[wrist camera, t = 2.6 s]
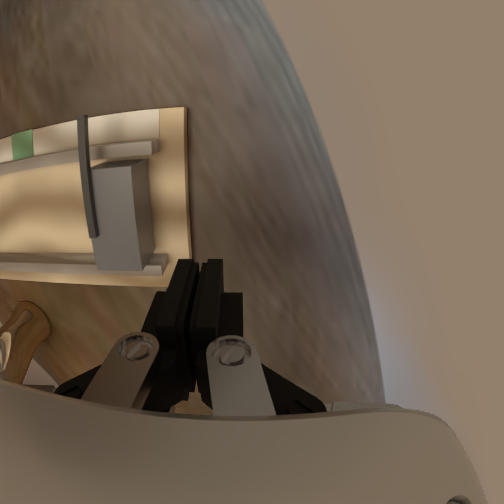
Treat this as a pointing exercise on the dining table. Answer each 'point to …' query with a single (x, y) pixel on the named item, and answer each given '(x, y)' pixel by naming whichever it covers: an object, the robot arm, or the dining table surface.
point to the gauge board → (72, 205)
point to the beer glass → (21, 340)
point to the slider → (116, 208)
